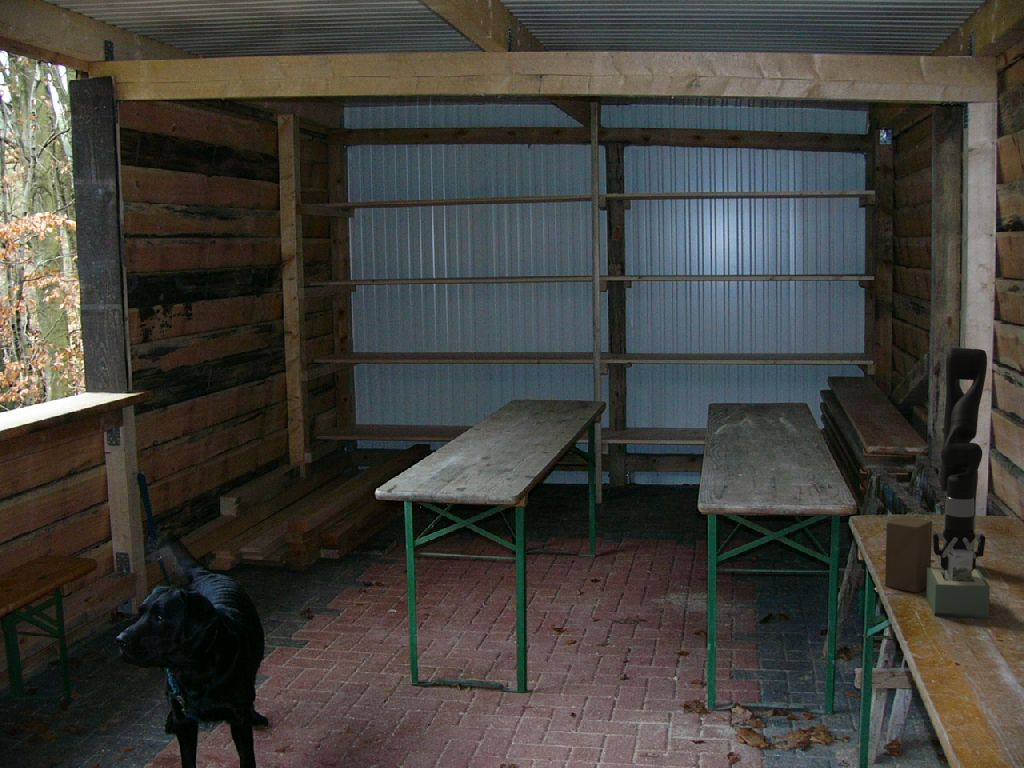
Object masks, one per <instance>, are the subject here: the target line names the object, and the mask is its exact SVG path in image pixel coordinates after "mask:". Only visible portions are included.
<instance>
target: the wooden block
mask: <svg viewBox="0 0 1024 768" xmlns="http://www.w3.org/2000/svg"><path fill="white" fill-rule="evenodd" d="M885 532H886V533H885V535H886V536H885V574H884V577H885V579H884V581H885V582H884V583H885V584H884V585H885V587H886V588H887V587H888V588H891V589H898V590H901V591H905V592H906V591H907V592H911V593H918V592H920V591H922V590H924V589H926V585H927V567H932V542H933V533H932V532H933V521H932V520H929V519H924V518H917V517H913V516H911V517H910V516H906V515H905V516H904V515H899V516H897V517H894V518H893V519H891V520H889V521H887V522H886V531H885Z"/></svg>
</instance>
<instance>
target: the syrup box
mask: <svg viewBox="0 0 1024 768" xmlns="http://www.w3.org/2000/svg"><path fill="white" fill-rule="evenodd" d="M946 557H947V570H944V580H945V581H965V582H972V562H973V552H972V551H968V549H967V548H953V547H952V549H951V551H950V552H949V553H948V554H947V556H946Z"/></svg>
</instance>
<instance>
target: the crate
mask: <svg viewBox="0 0 1024 768" xmlns="http://www.w3.org/2000/svg"><path fill="white" fill-rule="evenodd" d="M925 589H926V591H925V599H926V600H927V602H928V604H929V606H930V608H931V611H932V613H933V615H934V616H935V617H946V618H948V617H951V618H968V619H970V618H972V619H989V617H990V594H991V593H990V592H991V587H990V585H989V584H988V582H987V580H986V579H985V577H984V576H983V574H982V573H981V572H980V570H979V569H978V568H975V569H973V571H972V582H965V581H945V580H944V569H943V568H942V567H932V566H931V567H927V585H926V587H925Z"/></svg>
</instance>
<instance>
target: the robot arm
mask: <svg viewBox="0 0 1024 768" xmlns="http://www.w3.org/2000/svg"><path fill="white" fill-rule="evenodd" d="M987 368H988V355H987V352H986V351H985V349H982V348H981V349H980V348H969V347H968V348H964V347H954V348H950V349H949V350H948V351H947V355H946V359H945V384H946V385H945V386H946V387H945V389H946V390H945V391H946V394H945V396H946V397H945V408H944V417H943V446H942V449H941V452H940V458H941V459H940V460H941V465H940V473H939V474H940V475H939V484H940V488H941V490H942V491H943V492H945V493H946V499H945V504H944V508H943V532H940V533H937V532H933V533H932V543H933V544H932V545H933V552H934V554H935V555H936V556H940V566H941V567H940V568H943V569H944V570H947V557H946V556H947V554H948V553H949V552H950V551H951V549H952V547H953V548H967V549H968V551H972V552H973V562H972V571H973V569H977V568H976V562H977V558H979V557H981V558H982V557H983V556H984V552H985V545H986V536H985V535H984V533H980V534H976V519H977V518H976V517H977V516H976V513H977V512H976V511H977V507H976V505H977V491H978V484H979V483H978V482H979V471H978V470H979V467H980V464H981V462H982V459H983V449H982V447H981V446H980V445H979V444H978V443H977V442H976V443H975V442H972V440H974V439H975V438H976V437H977V433H978V419H979V410H980V404H981V401H982V396H983V392H984V387H985V381H986V375H987V370H988V369H987ZM959 380H960V381H961V380H966V381H972V384H971V386H970V387H969V388H968V390H966V392H965V393H964V392H963V390H962V387H961V384H960V382H959ZM942 539H943V541H942ZM975 540H976V541H975ZM941 541H942V549H941V550H940V542H941ZM975 542H977V550H976V551H975Z"/></svg>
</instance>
